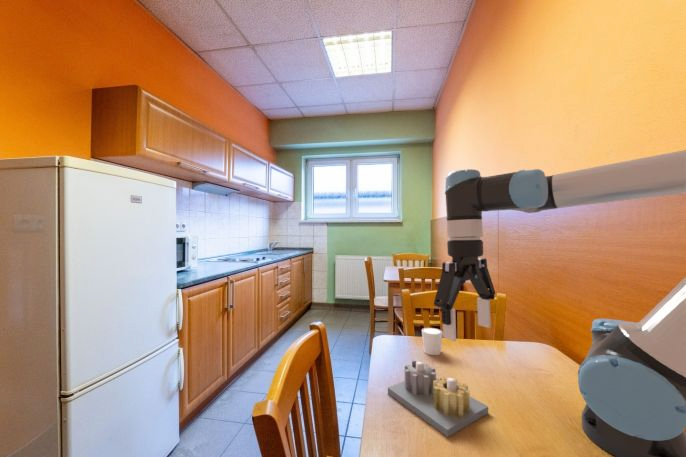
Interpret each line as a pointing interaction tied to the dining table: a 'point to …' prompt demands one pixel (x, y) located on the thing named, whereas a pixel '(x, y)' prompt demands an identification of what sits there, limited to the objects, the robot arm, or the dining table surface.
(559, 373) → the dining table surface
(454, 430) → the gear board
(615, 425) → the robot arm
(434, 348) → the beige cup
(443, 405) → the brass gear
